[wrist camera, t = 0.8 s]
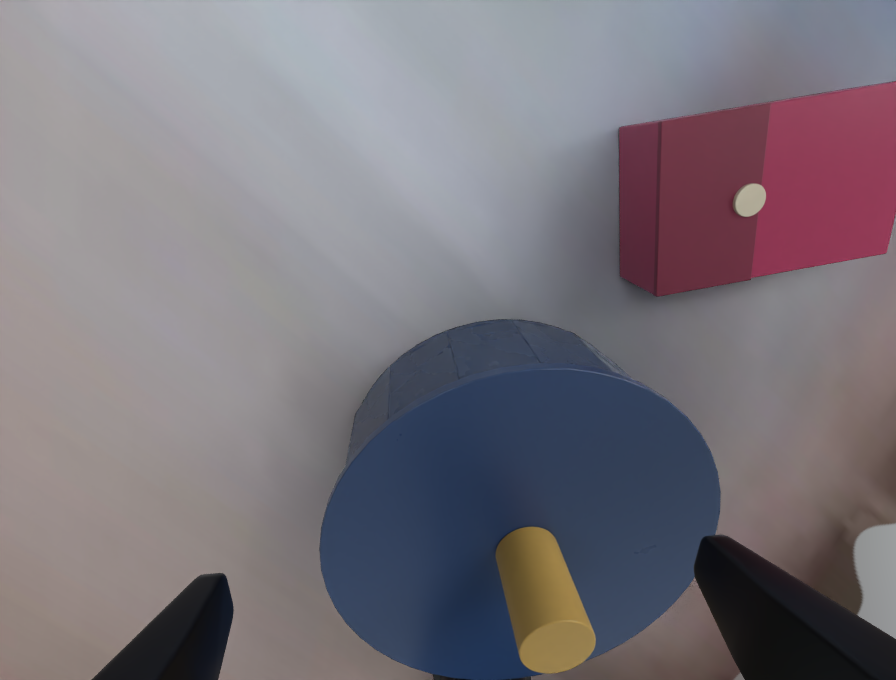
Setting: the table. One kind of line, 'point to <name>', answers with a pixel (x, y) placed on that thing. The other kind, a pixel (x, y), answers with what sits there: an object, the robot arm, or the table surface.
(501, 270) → the table surface
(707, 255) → the wallet
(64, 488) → the table surface
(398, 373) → the tin
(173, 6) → the table surface
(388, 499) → the tin lid
